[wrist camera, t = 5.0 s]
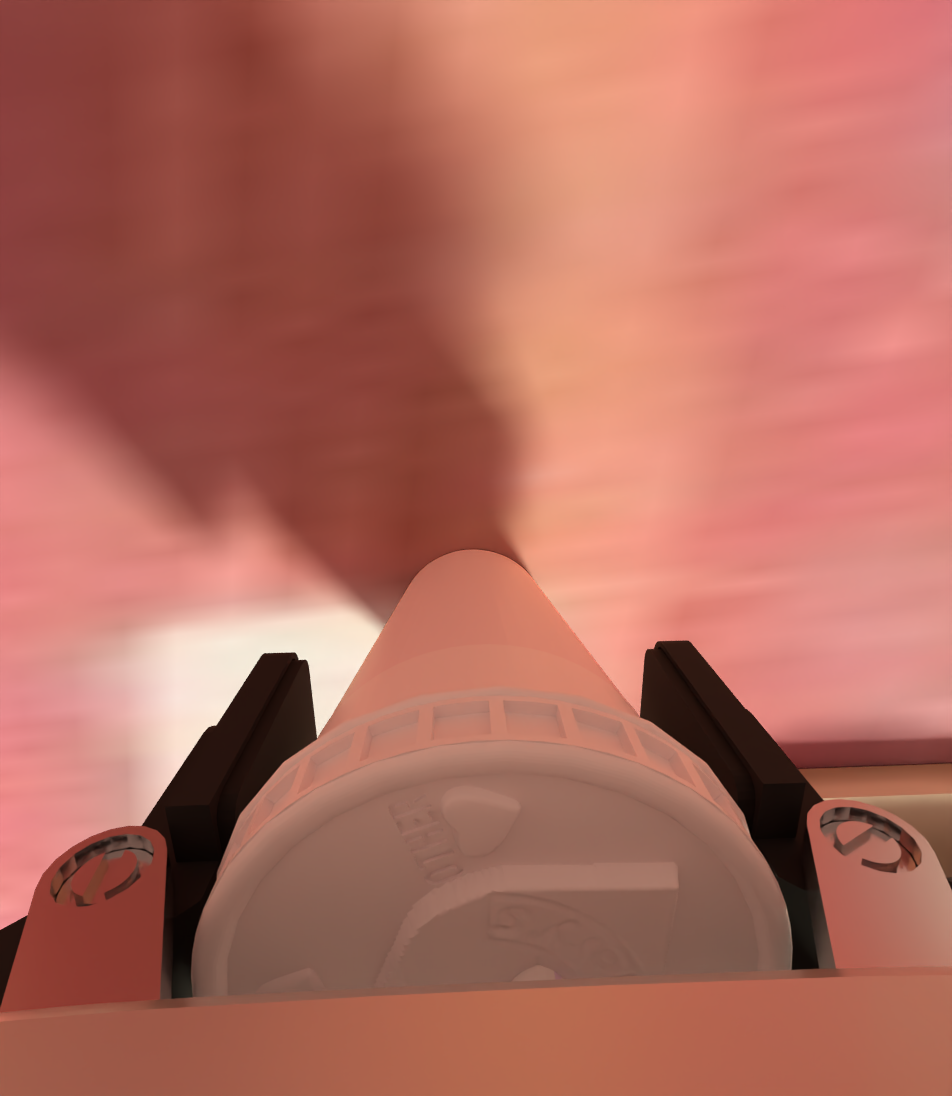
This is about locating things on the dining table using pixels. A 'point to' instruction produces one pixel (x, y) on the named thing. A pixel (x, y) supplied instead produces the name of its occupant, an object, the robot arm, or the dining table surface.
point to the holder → (898, 797)
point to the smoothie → (485, 821)
